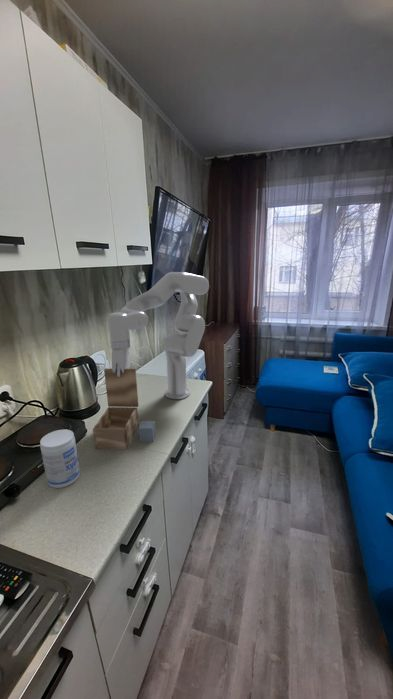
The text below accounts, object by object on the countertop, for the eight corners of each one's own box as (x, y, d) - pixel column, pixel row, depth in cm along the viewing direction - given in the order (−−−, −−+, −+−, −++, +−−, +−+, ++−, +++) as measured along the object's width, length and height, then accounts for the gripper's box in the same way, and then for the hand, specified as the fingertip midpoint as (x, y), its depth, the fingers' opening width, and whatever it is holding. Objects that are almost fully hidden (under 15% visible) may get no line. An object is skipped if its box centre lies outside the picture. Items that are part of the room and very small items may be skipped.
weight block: (143, 434, 112) (142, 420, 110) (155, 434, 112) (154, 420, 110) (140, 441, 107) (139, 428, 105) (153, 442, 107) (152, 428, 105)
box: (110, 424, 119) (108, 407, 117) (138, 424, 118) (137, 407, 116) (95, 448, 104) (92, 429, 101) (127, 448, 103) (125, 429, 101)
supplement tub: (75, 487, 86) (68, 446, 81) (42, 491, 84) (33, 449, 80) (83, 465, 95) (77, 427, 90) (53, 468, 94) (46, 430, 89)
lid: (108, 406, 117) (109, 405, 118) (137, 407, 116) (138, 405, 117) (104, 369, 112) (104, 368, 113) (134, 369, 112) (135, 368, 113)
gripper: (117, 338, 121) (121, 378, 126) (104, 349, 106) (109, 393, 112) (134, 339, 120) (137, 379, 126) (124, 349, 106) (127, 393, 111)
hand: (124, 385), depth 119 cm, fingers closed
